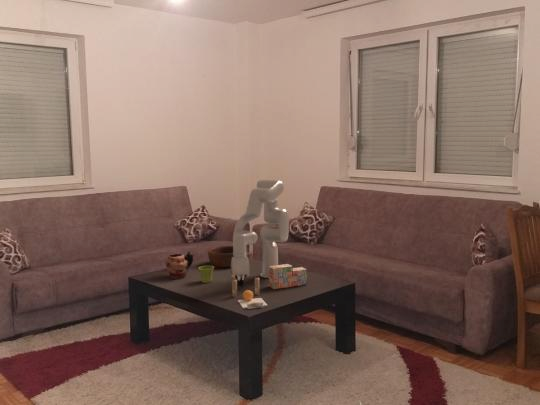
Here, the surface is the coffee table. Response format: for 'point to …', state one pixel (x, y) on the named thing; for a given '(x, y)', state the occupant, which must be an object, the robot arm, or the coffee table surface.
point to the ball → (248, 295)
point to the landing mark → (244, 302)
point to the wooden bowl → (221, 256)
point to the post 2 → (257, 286)
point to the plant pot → (206, 273)
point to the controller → (188, 259)
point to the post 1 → (234, 288)
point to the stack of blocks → (286, 276)
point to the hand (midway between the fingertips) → (240, 286)
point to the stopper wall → (255, 305)
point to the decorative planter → (176, 265)
